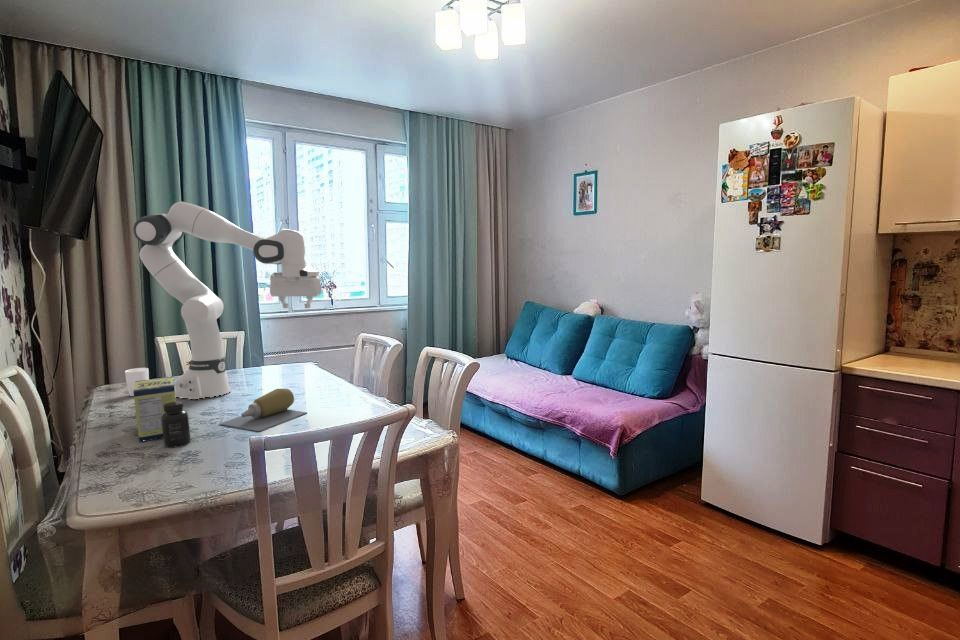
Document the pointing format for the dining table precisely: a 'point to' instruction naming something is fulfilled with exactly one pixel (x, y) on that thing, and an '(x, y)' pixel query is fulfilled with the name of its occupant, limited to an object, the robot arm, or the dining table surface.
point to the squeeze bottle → (270, 403)
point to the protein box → (152, 405)
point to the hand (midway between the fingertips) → (296, 308)
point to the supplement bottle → (175, 425)
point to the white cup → (135, 377)
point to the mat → (263, 420)
